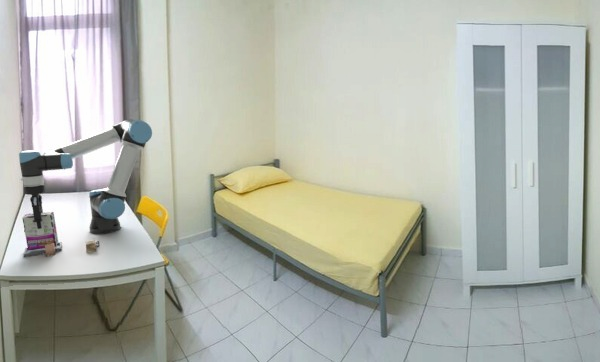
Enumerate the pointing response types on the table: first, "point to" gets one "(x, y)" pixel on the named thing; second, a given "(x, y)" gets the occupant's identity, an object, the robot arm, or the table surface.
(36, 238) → the candy bar box
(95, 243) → the dark gray slab
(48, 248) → the brown small cube
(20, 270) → the table surface
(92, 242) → the oak cube
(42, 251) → the slate tray
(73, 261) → the table surface
